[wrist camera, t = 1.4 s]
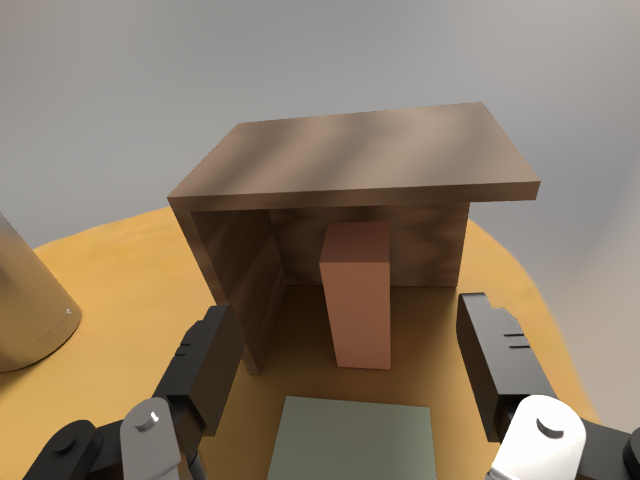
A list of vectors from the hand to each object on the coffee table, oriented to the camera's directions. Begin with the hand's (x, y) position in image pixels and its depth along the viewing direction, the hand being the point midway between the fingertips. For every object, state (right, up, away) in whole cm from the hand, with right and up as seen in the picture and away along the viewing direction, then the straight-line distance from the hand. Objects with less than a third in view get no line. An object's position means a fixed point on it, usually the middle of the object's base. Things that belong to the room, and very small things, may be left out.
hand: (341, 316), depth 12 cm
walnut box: (+3, -5, +20) cm, 21 cm away
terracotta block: (+3, -7, +18) cm, 20 cm away
